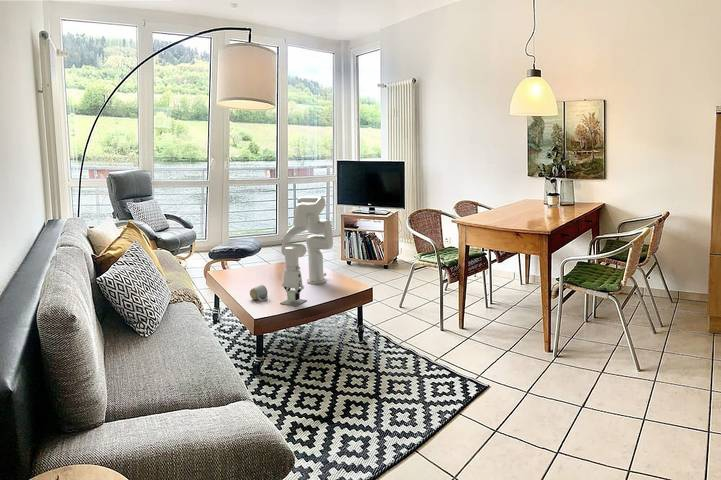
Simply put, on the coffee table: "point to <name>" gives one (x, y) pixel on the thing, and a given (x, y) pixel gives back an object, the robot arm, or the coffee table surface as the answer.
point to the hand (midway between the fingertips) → (293, 298)
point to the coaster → (293, 302)
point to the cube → (291, 295)
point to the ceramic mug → (259, 293)
